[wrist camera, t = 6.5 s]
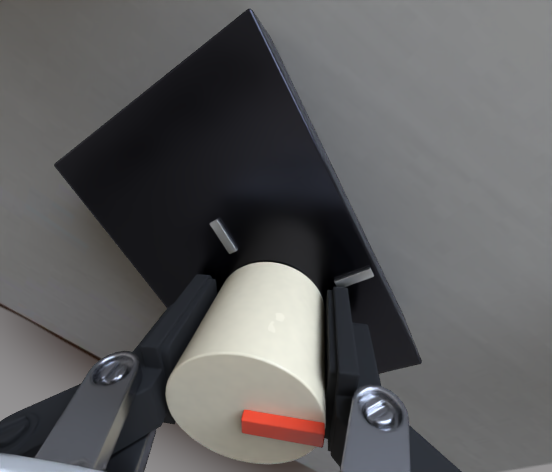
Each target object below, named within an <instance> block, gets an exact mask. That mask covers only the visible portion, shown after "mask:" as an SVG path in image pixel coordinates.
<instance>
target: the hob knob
mask: <svg viewBox="0 0 552 472" xmlns="http://www.w3.org/2000/svg"><path fill="white" fill-rule="evenodd" d="M165 396H166V402H167V406H168V409H169V411H170V413H171V415H172V417H173V418H174V420H175V421H176V423H177V424H178V425H179V426H180V428H182V430H183V431H184V432H185V433H187V434H188V435H189V436H190V437H191V438H193V439H194V440H195V441H196V442H198V443H199V444H201V445H203V446H204V447H206V448H208V449H209V450H212V451H214V452H216V453H218V454H221V455H223V456H226V457H228V458H232V459H235V460H239V461H243V462H249V463H257V464H277V463H284V462H289V461H293V460H296V459H299V458H301V457H303V456H305V455H306V454H308V453H310V452H311V451H312V450H313V449H314V448H316V447H321V448H322V447H323V444H324V437H325V428H326V370H325V306H324V301H323V298H322V296H321V294H320V291H319V290H318V288H317V287H316V286H315V284H314V283H313V282H312V281H311V280H310V279H309V278H308V277H307V276H305V275H304V274H303V273H301V272H300V271H298V270H296V269H294V268H292V267H289V266H287V265H283V264H280V263H274V262H257V263H252V264H249V265H246V266H243V267H241V268H239V269H237V270H236V271H235V272H233V273H232V274H231V275H230V276H229V277H228V278H227V280H226V281H225V282H224V284H223V286H222V287H221V289H220V291H219V293H218V294H217V296H216V298H215V299H214V301H213V303H212V305H211V306H210V308H209V310H208V311H207V313H206V315H205V316H204V318H203V320H202V322H201V323H200V325H199V327H198V328H197V330H196V332H195V334H194V335H193V337H192V339H191V340H190V342H189V344H188V345H187V347H186V349H185V351H184V352H183V354H182V356H181V357H180V359H179V361H178V363H177V364H176V366H175V368H174V369H173V371H172V373H171V375H170V377H169V378H168V381H167V385H166V393H165Z"/></svg>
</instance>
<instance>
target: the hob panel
mask: <svg viewBox="0 0 552 472" xmlns="http://www.w3.org/2000/svg"><path fill="white" fill-rule="evenodd" d="M54 166H55V167H56V169H57V170H58V171H59V172H60V174H61V175H62V176H63V177H64V179H65V180H66V181H67V183H68V184H69V185H70V186H71V188H72V189H73V190H74V191H75V193H76V194H77V195H78V196H79V198H80V199H81V200H82V201H83V203H84V204H85V205H86V206H87V208H88V209H89V210H90V211H91V213H92V214H93V215H94V216H95V218H96V219H97V220H98V222H99V223H100V224H101V225H102V227H103V228H104V229H105V230H106V232H107V233H108V234H109V235H110V237H111V238H112V239H113V240H114V242H115V243H116V244H117V245H118V247H119V248H120V249H121V250H122V252H123V253H124V254H125V256H126V257H127V258H128V259H129V261H130V262H131V263H132V264H133V266H134V267H135V268H136V269H137V271H138V272H139V273H140V274H141V276H142V277H143V278H144V279H145V281H146V282H147V283H148V284H149V286H150V287H151V288H152V289H153V291H154V292H155V293H156V295H157V296H158V297H159V298H160V300H161V301H162V302H163V303H164V305H165V306H166V307H167V308H168V307H169V306H170V305H171V304H174V302H175V301H176V300H177V299H178V297H179V296H180V295H181V293H182V292H183V291H184V290H185V288H186V287H187V286H188V285H189V283H190V282H191V281H192V279H193V278H194V277H195V276H196V275H197V274H201V275H210V276H211V277H212V279H215V280H216V287H217V294H218V293H219V291H220V289H221V287H222V286H223V284H224V282H225V281H226V280H227V278H228V277H229V276H230V275H231V274H232V273H233V272H235V271H236V270H237V269H239V268H241V267H243V266H246V265H249V264H252V263H257V262H274V263H280V264H283V265H287V266H289V267H292V268H294V269H296V270H298V271H300V272H301V273H303V274H304V275H305V276H307V277H308V278H309V279H310V280H311V281H312V282H313V283H314V284H315V286H316V287H317V288H318V290H319V291H320V294H321V296H322V298H323V301H324V306H325V309H326V299H327V290H333V287H344V288H348V295H349V302H350V309H351V316H352V323H361V324H367V325H368V327H369V331H370V336H371V341H372V345H373V350H374V355H375V360H376V364H377V369H378V374H380V373H384V372H388V371H392V370H396V369H400V368H405V367H409V366H413V365H417V364H421V363H422V360H421V358H420V355H419V353H418V350H417V348H416V345H415V343H414V340H413V338H412V335H411V333H410V330H409V328H408V325H407V323H406V320H405V318H404V315H403V313H402V311H401V309H400V307H399V305H398V303H397V301H396V299H395V297H394V295H393V292H392V290H391V288H390V286H389V284H388V282H387V280H386V278H385V276H384V274H383V271H382V269H381V267H380V265H379V263H378V261H377V259H376V257H375V255H374V253H373V251H372V248H371V246H370V244H369V242H368V240H367V238H366V236H365V234H364V232H363V230H362V228H361V225H360V223H359V221H358V219H357V217H356V215H355V213H354V211H353V209H352V207H351V205H350V202H349V200H348V198H347V196H346V194H345V192H344V190H343V188H342V186H341V184H340V181H339V179H338V177H337V175H336V173H335V171H334V169H333V167H332V165H331V163H330V161H329V158H328V156H327V154H326V152H325V150H324V148H323V146H322V144H321V142H320V140H319V138H318V135H317V133H316V131H315V129H314V127H313V125H312V123H311V121H310V119H309V117H308V115H307V112H306V110H305V108H304V106H303V104H302V102H301V100H300V98H299V96H298V94H297V92H296V89H295V87H294V85H293V83H292V81H291V79H290V77H289V75H288V73H287V71H286V68H285V66H284V64H283V62H282V60H281V58H280V56H279V54H278V52H277V50H276V48H275V45H274V43H273V41H272V39H271V37H270V35H269V34H268V32H267V31H266V30H265V28H264V27H263V25H262V24H261V22H260V21H259V19H258V18H257V16H256V15H255V13H254V12H253V10H251V9H247V10H246V11H245V12H244V13H242V14H241V15H240V16H239V17H237V18H236V19H235V20H234V21H232V22H231V23H230V24H229V25H227V26H226V27H225V28H224V29H222V30H221V31H220V32H219V33H217V34H216V35H215V36H214V37H212V38H211V39H210V40H209V41H207V42H206V43H205V44H204V45H202V46H201V47H200V48H199V49H197V50H196V51H195V52H194V53H192V54H191V55H190V56H189V57H187V58H186V59H185V60H184V61H182V62H181V63H180V64H179V65H177V66H176V67H175V68H174V69H172V70H171V71H170V72H169V73H167V74H166V75H165V76H164V77H162V78H161V79H160V80H159V81H157V82H156V83H155V84H154V85H152V86H151V87H150V88H149V89H147V90H146V91H145V92H144V93H142V94H141V95H140V96H139V97H137V98H136V99H135V100H134V101H132V102H131V103H130V104H129V105H127V106H126V107H125V108H124V109H122V110H121V111H120V112H119V113H117V114H116V115H115V116H114V117H112V118H111V119H110V120H109V121H107V122H106V123H105V124H104V125H102V126H101V127H100V128H99V129H97V130H96V131H95V132H94V133H92V134H91V135H90V136H89V137H87V138H86V139H85V140H84V141H82V142H81V143H80V144H79V145H77V146H76V147H75V148H74V149H72V150H71V151H70V152H69V153H67V154H66V155H65V156H64V157H62V158H61V159H60V160H59V161H57V162H56V163H55V164H54Z"/></svg>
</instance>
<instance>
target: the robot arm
mask: <svg viewBox="0 0 552 472" xmlns="http://www.w3.org/2000/svg"><path fill="white" fill-rule="evenodd" d="M216 296H217V287H216V280H215V279H212V277H211V276H210V275H201V274H197V275H196V276H195V277H194V278H193V279H192V281H191V282H190V283H189V285H188V286H187V287H186V288H185V290H184V291H183V292H182V293H181V295H180V296H179V297H178V299H177V300H176V301H175V302H174V304H171V305H170V306H169V307H168V308H167V310H166V311H165V312H164V313H163V315H162V316H161V317H160V318H159V320H158V321H157V322H156V323H155V325H154V326H153V327H152V328H151V330H150V331H149V332H148V333H147V335H146V336H145V337H144V338H143V340H142V341H141V342H140V344H139V345H138V346H137V347H136V349H135V350H134V351H133V352H130V351H121V352H115V353H113V354H110V355H108V356H106V357H104V358H102V359H101V360H99V361H98V362H97V363H96V364H95V365H94V366H93V367H92V368H91V369H90V370H89V372H88V374H87V375H86V377H85V378H84V380H83V382H82V383H81V384H79V385H77V386H75V387H73V388H70V389H68V390H66V391H63V392H61V393H59V394H57V395H54V396H52V397H50V398H48V399H45V400H43V401H41V402H39V403H36V404H34V405H32V406H30V407H27V408H25V409H23V410H20V411H18V412H16V413H14V414H12V415H10V416H8V417H6V418H5V419H3V420H2V421H0V472H144V470H145V467H146V464H147V460H148V457H149V454H150V450H151V447H152V443H153V440H154V437H155V434H156V429H157V428H158V427H160V426H161V425H162V423H163V422H164V423H170V424H175V422H176V421H175V420H174V418H173V417H172V415H171V413H170V411H169V409H168V406H167V402H166V396H165V393H166V385H167V381H168V378H169V377H170V375H171V373H172V371H173V369H174V368H175V366H176V364H177V363H178V361H179V359H180V357H181V356H182V354H183V352H184V351H185V349H186V347H187V345H188V344H189V342H190V340H191V339H192V337H193V335H194V334H195V332H196V330H197V328H198V327H199V325H200V323H201V322H202V320H203V318H204V316H205V315H206V313H207V311H208V310H209V308H210V306H211V305H212V303H213V301H214V299H215V298H216ZM325 370H326V428H325V437H324V438H327V439H328V451H331V456H332V458H333V459H334V460H335V461H336V463H337V464H338V465H339V466H340V472H461V471H460V470H459V469H458V468H457V467H456V466H455V465H453V464H452V463H451V462H450V461H449V460H448V459H447V458H446V457H444V456H443V455H442V454H441V453H440V452H439V451H438V450H437V449H435V448H434V447H433V446H432V445H431V444H430V443H429V442H427V441H426V440H425V439H424V438H423V437H422V436H421V435H420V434H418V433H417V432H416V431H415V430H414V429H413V428H412V427H411V426H409V417H408V412H407V409H406V407H405V406H404V404H403V402H402V401H401V400H400V399H399V398H398V396H397V395H395V394H394V393H393V392H391V391H390V390H388V389H386V388H384V387H382V386H381V383H380V378H379V374H378V369H377V364H376V360H375V355H374V350H373V345H372V341H371V336H370V331H369V327H368V325H367V324H361V323H352V316H351V309H350V302H349V295H348V288H344V287H333V290H327V299H326V309H325Z"/></svg>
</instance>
